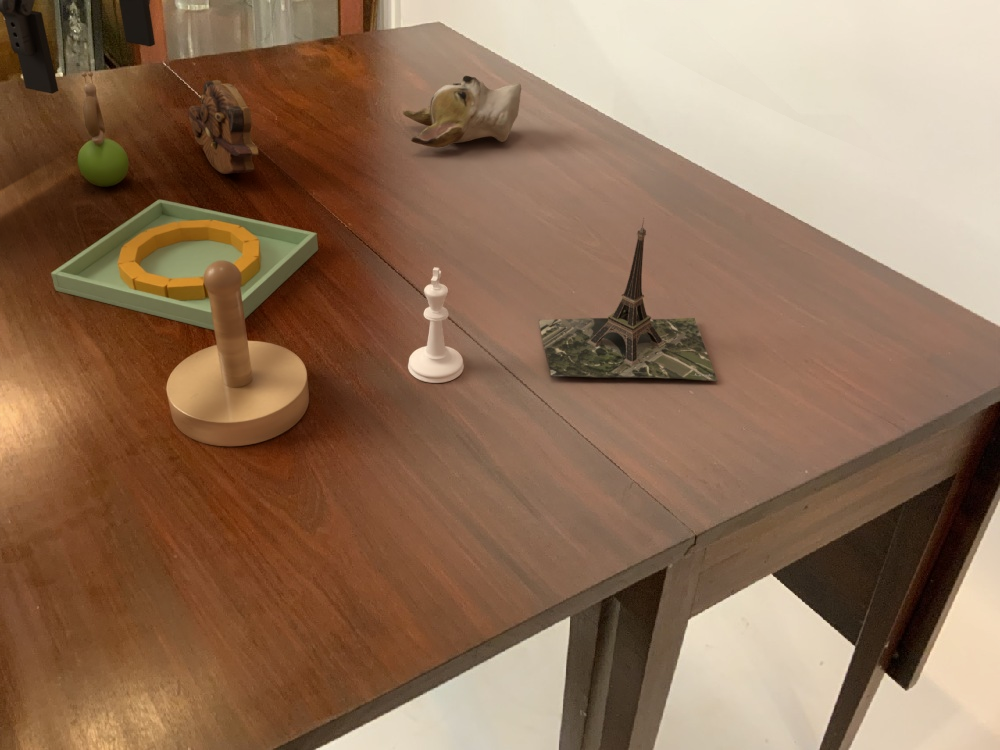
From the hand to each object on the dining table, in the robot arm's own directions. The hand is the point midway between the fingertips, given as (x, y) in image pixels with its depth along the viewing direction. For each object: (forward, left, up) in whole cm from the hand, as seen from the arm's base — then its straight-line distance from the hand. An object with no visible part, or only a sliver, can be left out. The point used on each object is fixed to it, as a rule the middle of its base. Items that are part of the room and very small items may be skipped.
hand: (94, 65), depth 88 cm
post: (+23, -17, -20) cm, 34 cm away
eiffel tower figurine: (+51, +3, -20) cm, 55 cm away
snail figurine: (-13, +13, -20) cm, 28 cm away
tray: (+7, 0, -20) cm, 21 cm away
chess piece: (+36, -6, -20) cm, 41 cm away
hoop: (+7, 0, -19) cm, 20 cm away
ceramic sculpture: (+20, +42, -20) cm, 51 cm away
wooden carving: (-3, +22, -20) cm, 30 cm away
